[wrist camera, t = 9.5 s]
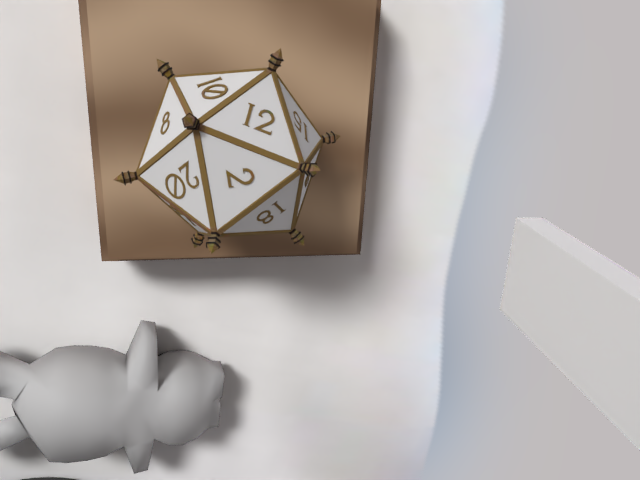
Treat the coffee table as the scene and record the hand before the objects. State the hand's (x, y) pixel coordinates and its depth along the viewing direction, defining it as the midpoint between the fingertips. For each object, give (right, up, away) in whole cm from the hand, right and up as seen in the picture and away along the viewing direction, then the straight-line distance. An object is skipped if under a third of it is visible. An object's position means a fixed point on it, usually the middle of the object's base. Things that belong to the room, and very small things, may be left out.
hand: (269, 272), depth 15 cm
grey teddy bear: (-13, -8, +23) cm, 27 cm away
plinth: (-3, +7, +18) cm, 20 cm away
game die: (-3, +6, +14) cm, 16 cm away
